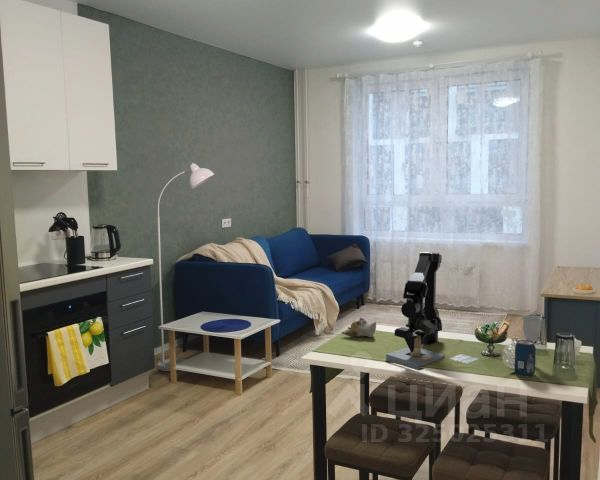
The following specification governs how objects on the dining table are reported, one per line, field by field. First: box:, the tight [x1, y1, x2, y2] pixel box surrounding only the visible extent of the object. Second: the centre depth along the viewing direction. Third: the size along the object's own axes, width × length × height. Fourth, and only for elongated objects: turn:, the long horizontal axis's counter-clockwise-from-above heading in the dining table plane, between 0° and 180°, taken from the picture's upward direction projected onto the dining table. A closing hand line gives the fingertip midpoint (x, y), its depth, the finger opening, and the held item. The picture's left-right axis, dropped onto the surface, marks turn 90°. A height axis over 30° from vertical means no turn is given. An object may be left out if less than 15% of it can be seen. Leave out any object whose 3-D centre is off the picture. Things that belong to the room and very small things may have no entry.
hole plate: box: [385, 346, 446, 372], centre depth 221 cm, size 16×16×3 cm
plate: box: [449, 353, 479, 365], centre depth 219 cm, size 8×8×2 cm
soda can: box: [514, 339, 536, 378], centre depth 204 cm, size 7×7×12 cm
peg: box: [409, 334, 422, 358], centre depth 221 cm, size 4×4×8 cm
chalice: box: [521, 315, 543, 366], centre depth 215 cm, size 7×7×18 cm
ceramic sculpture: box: [341, 317, 377, 339], centre depth 256 cm, size 11×9×15 cm
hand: (415, 350), depth 221 cm, fingers closed on peg, 4 cm apart
